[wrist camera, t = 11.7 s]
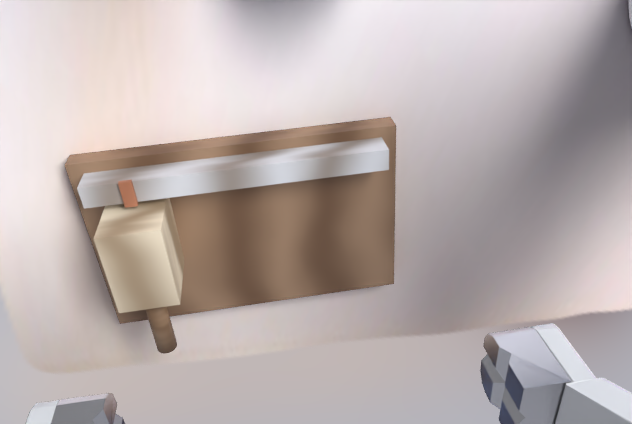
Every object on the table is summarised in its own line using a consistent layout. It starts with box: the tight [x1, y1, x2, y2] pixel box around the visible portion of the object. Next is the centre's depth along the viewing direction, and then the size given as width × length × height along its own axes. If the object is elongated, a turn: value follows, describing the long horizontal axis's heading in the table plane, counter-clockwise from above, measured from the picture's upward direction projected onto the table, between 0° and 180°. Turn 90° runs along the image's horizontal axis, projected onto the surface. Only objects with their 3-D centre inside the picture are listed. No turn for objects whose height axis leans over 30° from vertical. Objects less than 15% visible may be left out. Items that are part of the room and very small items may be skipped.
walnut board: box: [65, 117, 396, 324], centre depth 40 cm, size 22×14×4 cm, turn 94°
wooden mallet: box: [94, 198, 184, 353], centre depth 38 cm, size 4×11×5 cm, turn 4°
